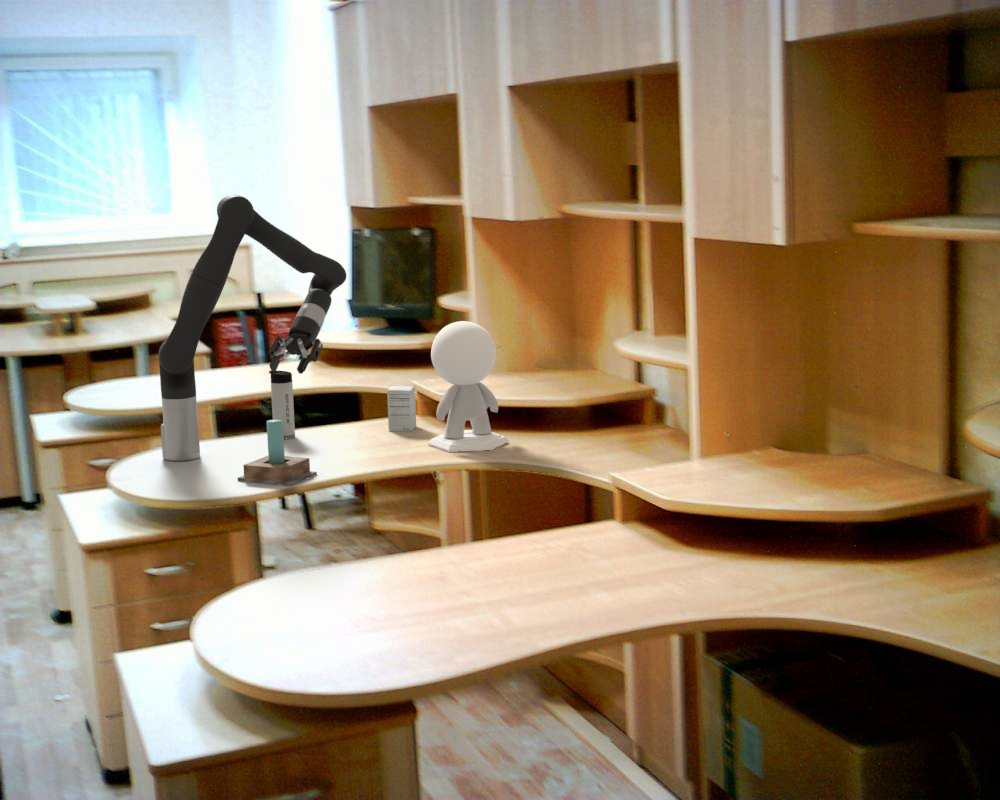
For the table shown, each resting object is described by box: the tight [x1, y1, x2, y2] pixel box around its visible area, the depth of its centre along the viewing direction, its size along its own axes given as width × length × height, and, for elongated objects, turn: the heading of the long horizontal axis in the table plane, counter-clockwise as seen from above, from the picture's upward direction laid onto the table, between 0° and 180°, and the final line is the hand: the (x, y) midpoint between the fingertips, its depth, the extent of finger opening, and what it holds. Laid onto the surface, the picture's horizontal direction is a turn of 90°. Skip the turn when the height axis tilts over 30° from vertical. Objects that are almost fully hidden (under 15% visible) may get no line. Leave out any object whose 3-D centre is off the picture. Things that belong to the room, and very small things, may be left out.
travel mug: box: [268, 369, 296, 440], centre depth 369 cm, size 6×7×20 cm
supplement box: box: [386, 385, 417, 432], centre depth 378 cm, size 7×7×13 cm
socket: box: [237, 454, 318, 487], centre depth 321 cm, size 16×12×4 cm
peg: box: [266, 419, 285, 465], centre depth 320 cm, size 4×4×14 cm
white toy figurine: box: [427, 320, 510, 453], centre depth 354 cm, size 20×23×35 cm
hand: (285, 370), depth 335 cm, fingers open, 8 cm apart
